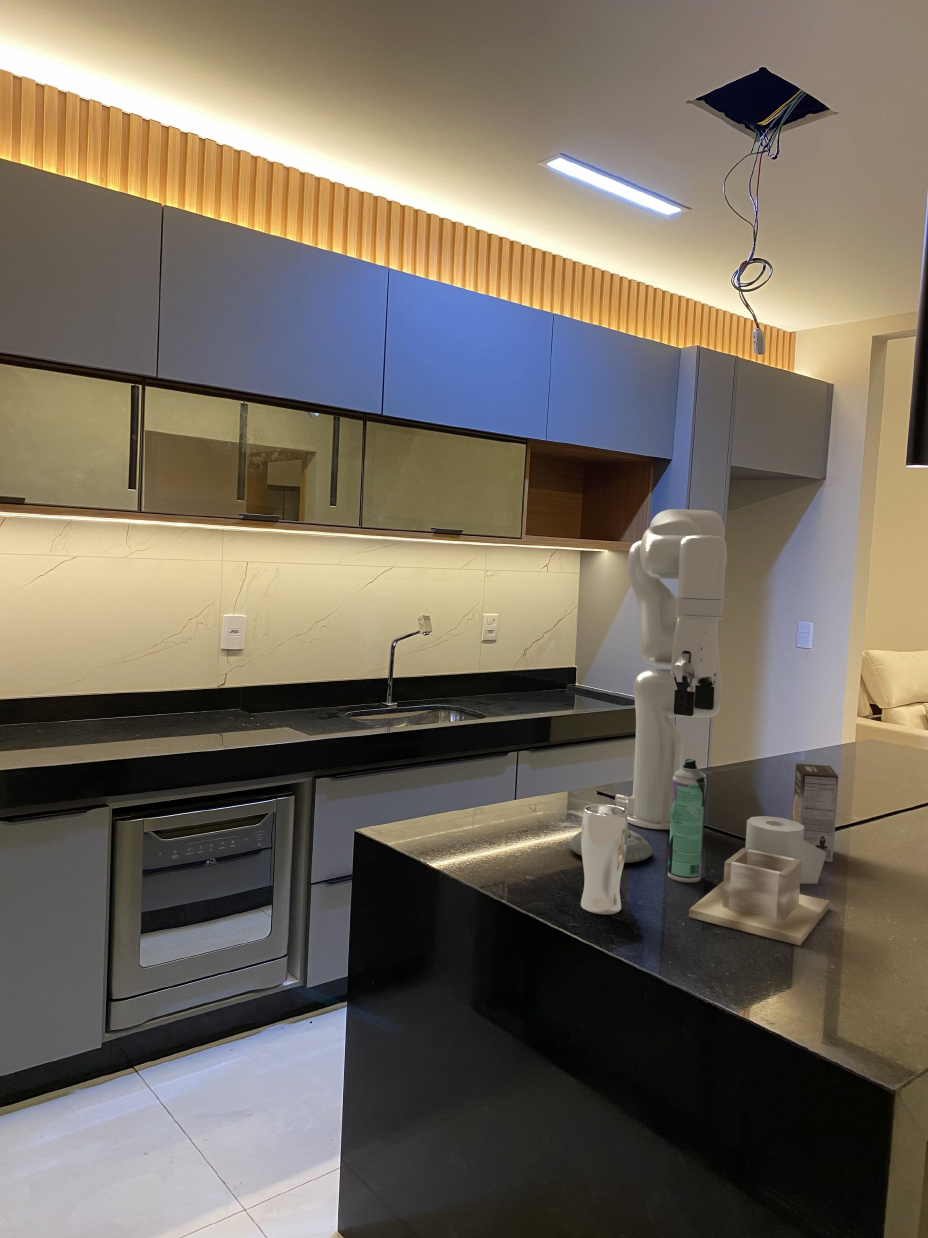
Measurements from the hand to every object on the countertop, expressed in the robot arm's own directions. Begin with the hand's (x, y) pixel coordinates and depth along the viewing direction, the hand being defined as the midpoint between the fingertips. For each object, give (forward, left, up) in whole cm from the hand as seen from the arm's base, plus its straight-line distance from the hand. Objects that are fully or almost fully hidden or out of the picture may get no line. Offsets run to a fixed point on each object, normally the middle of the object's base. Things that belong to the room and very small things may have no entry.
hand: (693, 712), depth 150 cm
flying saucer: (-15, +3, -29) cm, 32 cm away
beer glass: (-5, -22, -28) cm, 36 cm away
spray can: (0, 0, -28) cm, 28 cm away
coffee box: (+14, +29, -28) cm, 43 cm away
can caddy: (+15, -8, -28) cm, 33 cm away
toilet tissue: (+12, +13, -28) cm, 34 cm away
